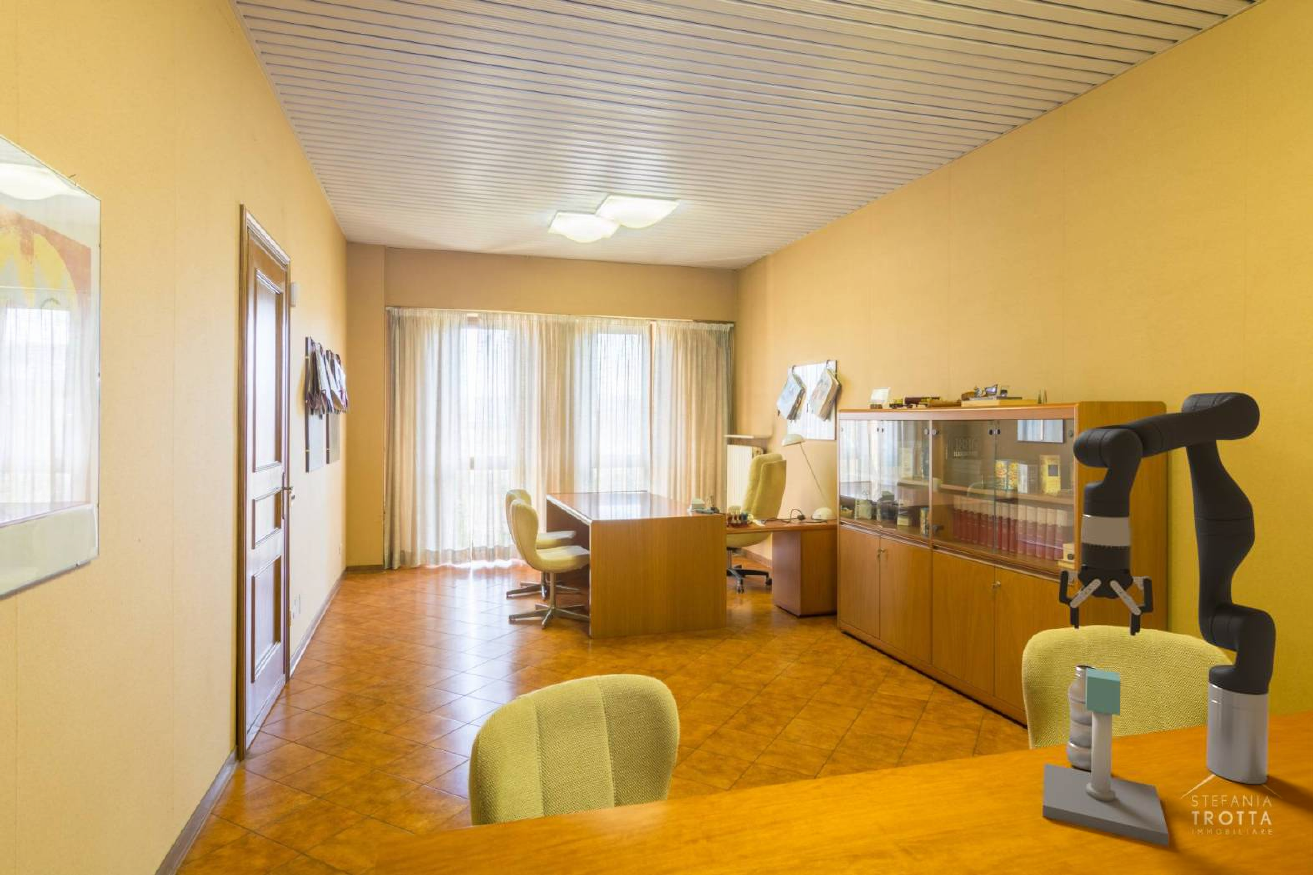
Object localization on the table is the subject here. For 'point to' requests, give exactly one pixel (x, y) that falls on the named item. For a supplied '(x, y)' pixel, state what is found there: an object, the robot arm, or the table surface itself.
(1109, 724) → the post stand
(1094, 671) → the teal cube
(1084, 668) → the plastic bottle
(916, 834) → the table surface
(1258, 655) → the robot arm
